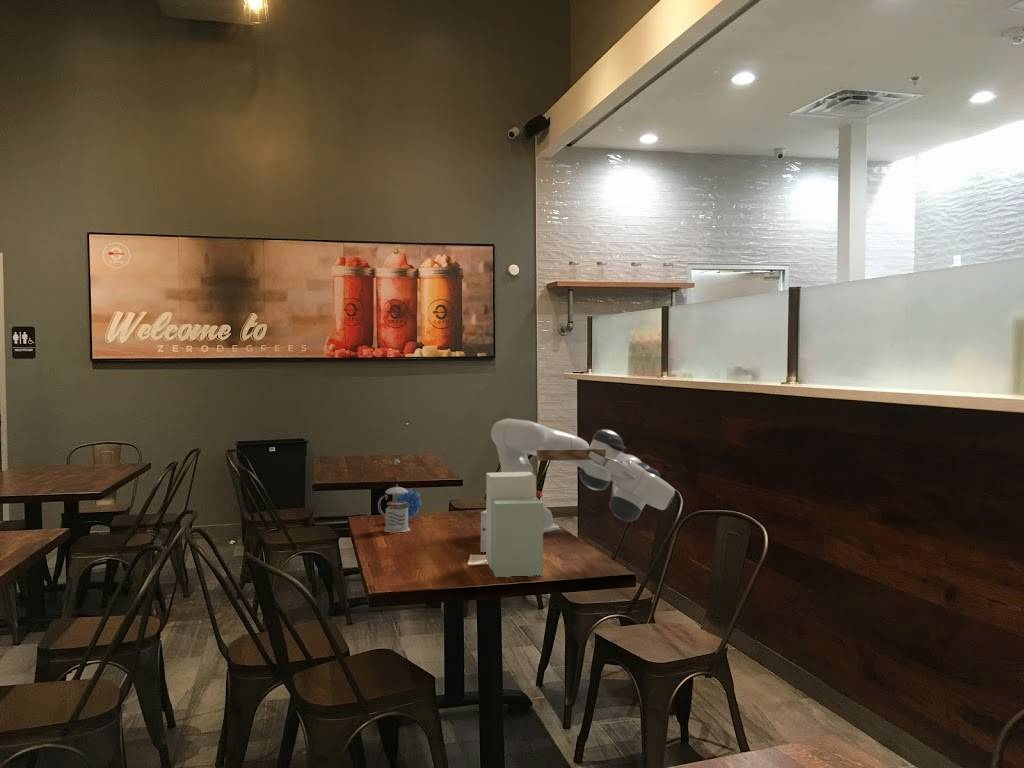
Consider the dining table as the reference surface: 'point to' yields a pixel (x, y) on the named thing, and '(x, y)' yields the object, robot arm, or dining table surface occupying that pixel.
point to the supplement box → (483, 531)
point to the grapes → (410, 503)
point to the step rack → (513, 524)
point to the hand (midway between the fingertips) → (586, 452)
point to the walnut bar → (568, 454)
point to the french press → (396, 511)
